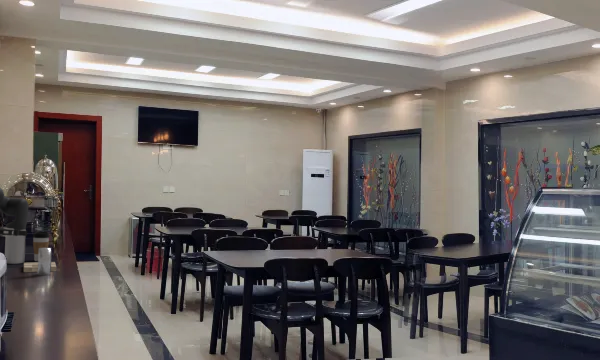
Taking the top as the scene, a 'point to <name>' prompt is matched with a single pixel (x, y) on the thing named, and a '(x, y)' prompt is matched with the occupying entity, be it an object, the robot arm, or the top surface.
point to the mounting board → (36, 267)
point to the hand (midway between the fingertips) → (23, 233)
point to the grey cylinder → (44, 261)
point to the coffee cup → (40, 242)
